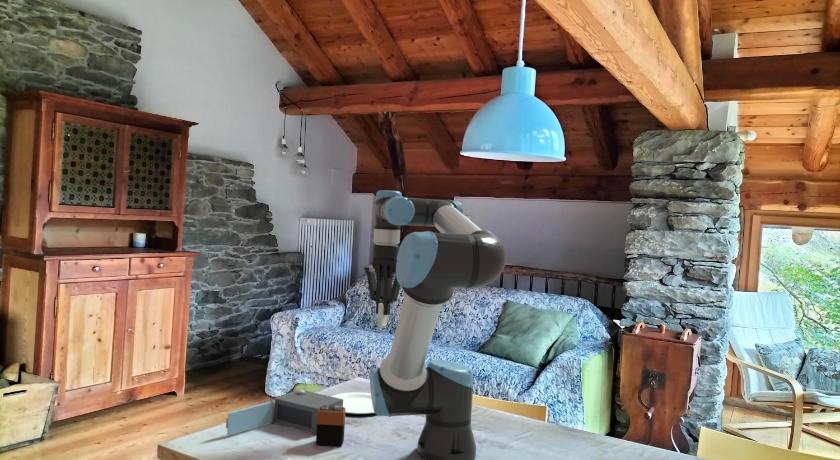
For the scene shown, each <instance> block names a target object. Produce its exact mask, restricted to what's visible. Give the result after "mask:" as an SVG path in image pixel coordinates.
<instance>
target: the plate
mask: <svg viewBox="0 0 840 460" xmlns="http://www.w3.org/2000/svg"><path fill="white" fill-rule="evenodd" d="M331 397H335V398H340V399H343V407H344V408H345V415H346V414H347V415H374V414H376V413H375V412H374V410H373V405H372V399H371V392H344V393H337V394H334V395H331Z"/></svg>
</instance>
